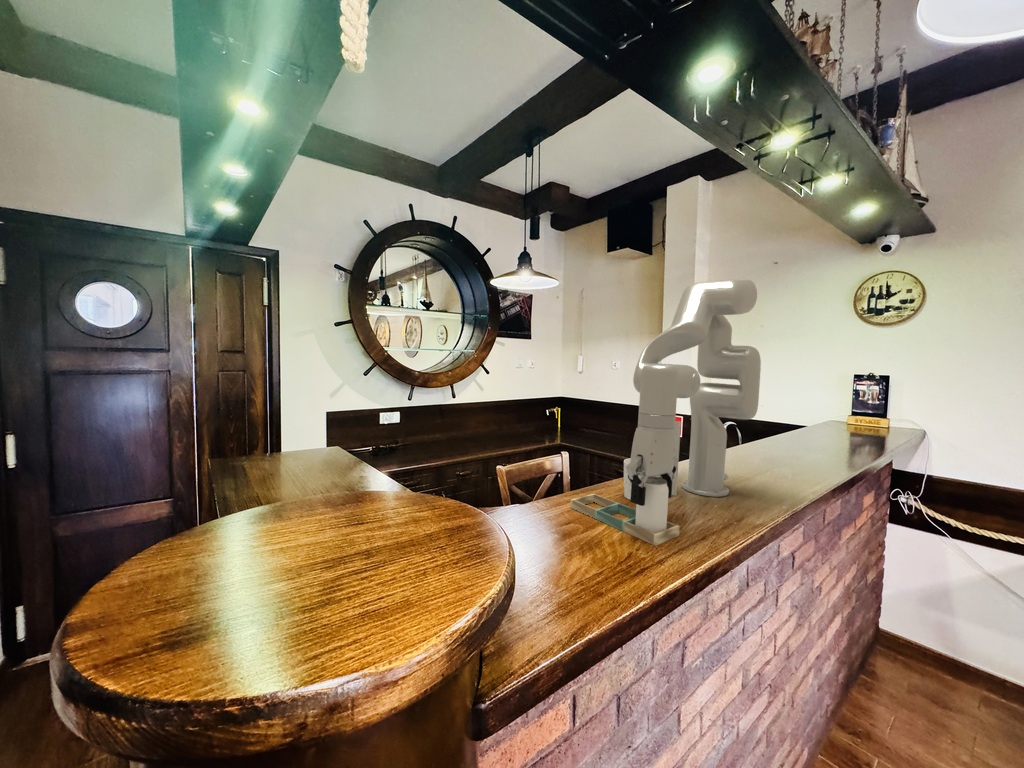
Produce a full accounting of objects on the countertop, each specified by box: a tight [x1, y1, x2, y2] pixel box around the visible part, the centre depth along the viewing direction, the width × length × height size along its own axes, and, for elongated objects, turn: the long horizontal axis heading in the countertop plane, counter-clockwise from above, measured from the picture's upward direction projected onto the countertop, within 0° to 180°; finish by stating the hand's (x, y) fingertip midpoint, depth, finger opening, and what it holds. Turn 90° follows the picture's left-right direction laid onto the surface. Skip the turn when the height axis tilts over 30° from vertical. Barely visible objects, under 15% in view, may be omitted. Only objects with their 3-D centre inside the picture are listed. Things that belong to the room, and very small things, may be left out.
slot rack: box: [570, 493, 681, 547], centre depth 98 cm, size 9×25×2 cm, turn 37°
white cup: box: [623, 457, 644, 501], centre depth 114 cm, size 8×8×10 cm
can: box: [635, 477, 669, 534], centre depth 91 cm, size 6×6×12 cm
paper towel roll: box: [653, 420, 682, 496], centre depth 119 cm, size 7×6×21 cm
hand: (651, 499), depth 91 cm, fingers open, 9 cm apart
